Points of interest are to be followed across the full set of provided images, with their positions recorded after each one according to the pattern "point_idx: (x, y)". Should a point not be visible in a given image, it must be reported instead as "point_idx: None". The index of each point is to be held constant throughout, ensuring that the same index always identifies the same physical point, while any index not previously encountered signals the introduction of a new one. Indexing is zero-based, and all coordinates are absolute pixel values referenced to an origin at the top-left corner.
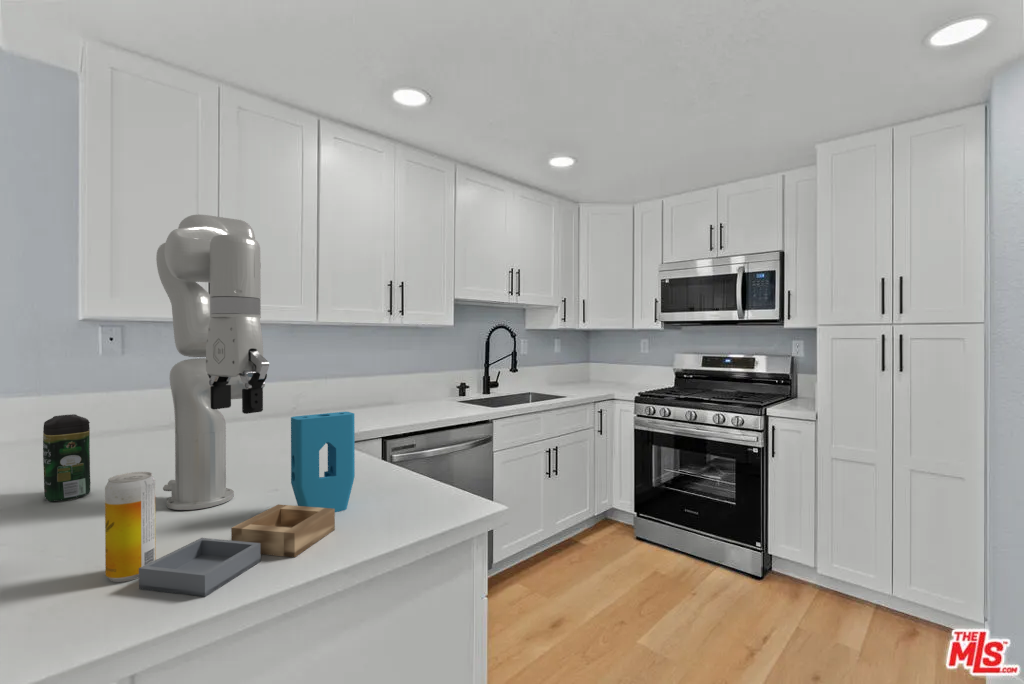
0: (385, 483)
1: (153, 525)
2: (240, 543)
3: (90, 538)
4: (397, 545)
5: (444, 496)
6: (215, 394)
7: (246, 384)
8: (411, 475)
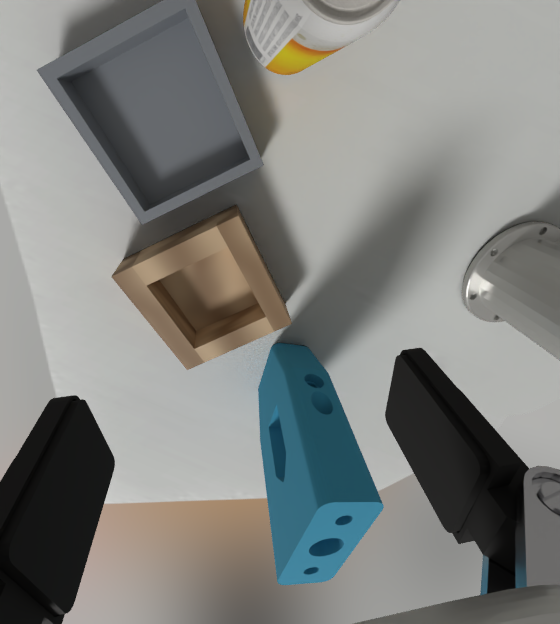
0: None
1: (268, 44)
2: (169, 200)
3: (543, 52)
4: (55, 372)
5: (190, 484)
6: (441, 424)
7: None
8: None
